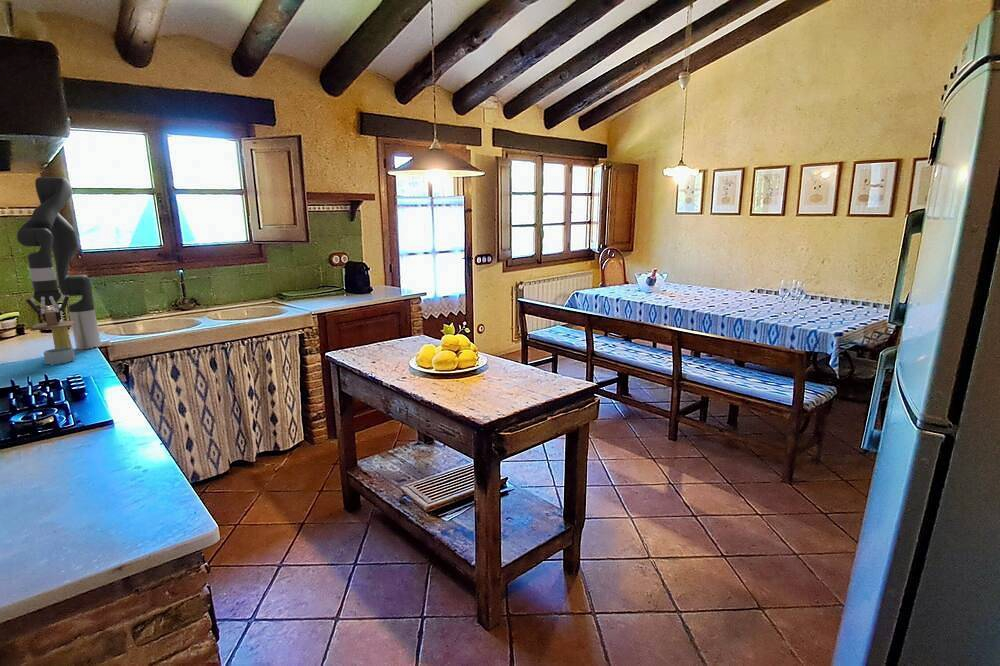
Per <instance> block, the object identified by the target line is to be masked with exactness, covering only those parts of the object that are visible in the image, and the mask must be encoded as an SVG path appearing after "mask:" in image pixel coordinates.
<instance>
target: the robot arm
mask: <svg viewBox="0 0 1000 666" xmlns="http://www.w3.org/2000/svg"><path fill="white" fill-rule="evenodd" d="M34 183H35V184H34V185H35V186H34V187H35V191H36V195H37V197H38V200H39V203H40V204H39V205H38V206H37V207H36V208H35V209H33V211H32V214H31V216H30V218H29V220H28V221H26V222H24V224H23V225H22V226H20V228H18V231H17V233H16V240H17V242H18V243H19V244H20V245H21V246H24V247H29V248H30V247H33V248H34V247H40V248H39V250H38V251H37V252H36V251H35V252H31V253H28V254H27V261H28V265H29V270H30V271H29V272H30V280H31V284H32V289H33V296H32V297H30V298H27V299H26V300H25V301H26V303H27V304H28V306H30V308H31V309H32V310H33V311H34V312H35V313H36V314H37V313H38V314H41V316H42V317H41V318H42V321H43V322H44V323H47V321H46V316H45V313H46V312H47V305H52V306H53V309H54V311H56V317H57V322H61V320H62V318H63V317H62V313H61V312H62V311H65V310H66V308H68V313H69V318H70V321H72V320H75V323H74V324H73V326H72V327H71V329H72V332H73V339H74V343H75V349H76V350H89V348H91V349H94V348H93V347H96V348H100V347H101V346H102V341H101V337H100V332H99V331H100V330H99V324H98V320H97V315H96V311H95V310H96V309H95V303H94V297H93V295H94V294H93V288H92V287H93V286H92V282H91V278H90V277H89V276H88V275H87V274H74V275H73V274H72V275H71V274H70V275H69V265H70V262H71V260H72V258H74V255H75V253H76V252H77V249H78V246H79V244H78V243H79V241H78V239H77V235H76V230H75V229H74V227H73V226H72V225H71V223H69V222H68V220H66V218H64V217H63V216H62V215H61V214H60V211H61V210H62V209H63V208H64V207H65V206H66V205H67V202H68V201H69V200H70V198H71V196H72V195H73V194H72V193H73V188H72V185H71V182H70V181H69V180H68V179H67V178H65V177H57V176H55V177H54V176H39V177H37V178H36V179H35V182H34ZM52 254H53V257H54V263H55V268H56V271H55V268H54V265H53V259H52ZM56 273H57V274H56ZM57 280H58V281H57ZM77 296H78V297H81V299H80V300H79V301H76V302H74V303H71V304H69V305H68V302H69V300H70V297H77ZM60 299H61V300H62V304H61V307H59V302H58V301H59V300H60ZM36 301H37V303H40V308H39V307H38V306H37V304H36ZM67 306H68V307H67Z"/></svg>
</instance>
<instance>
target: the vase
mask: <svg viewBox="0 0 1000 666" xmlns="http://www.w3.org/2000/svg"><path fill="white" fill-rule="evenodd" d="M68 328H69V327H63V328H54V329H51V333H52V339H53V346H54V349H57V348H65V347H69V348H73V346H72V342H71V338H70V334H69V329H68Z"/></svg>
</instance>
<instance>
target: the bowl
mask: <svg viewBox="0 0 1000 666" xmlns="http://www.w3.org/2000/svg"><path fill="white" fill-rule="evenodd" d="M75 355H76V354H75V350H74V347H72V348H69V347H65V348H57V349H55V348H52V349H48V350H44V352H43V357H44V361H45V365H46V364H57V365H60V364H59V363H65V364H67V362H69V363H71V362H70V361H73V362H75V361H76V356H75ZM74 360H75V361H74Z"/></svg>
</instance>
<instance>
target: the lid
mask: <svg viewBox="0 0 1000 666" xmlns="http://www.w3.org/2000/svg"><path fill="white" fill-rule="evenodd" d="M45 316H46V321H47V323H46V322H44V323H43V322H41V323H35V324H34V325H33V326H32V327H31V328H30V331H31V332H33V331H41V330H42V331H43V330H52V329H54V328H63V327H67V328H72V326H73V324H74V323H75V320H72V321H71V320H62V321H61V320H60V321H59V322H57V317H56V311H55V310H53V311H52V310H51V311H46V313H45Z"/></svg>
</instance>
